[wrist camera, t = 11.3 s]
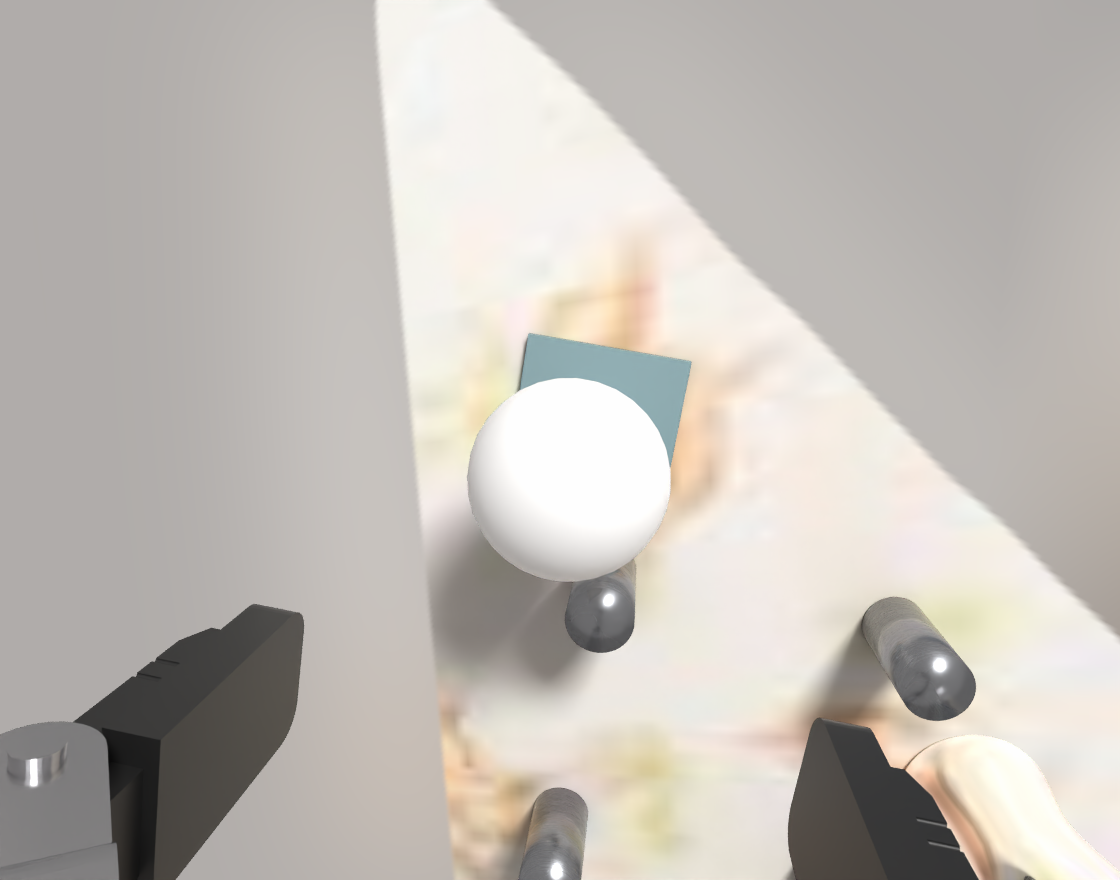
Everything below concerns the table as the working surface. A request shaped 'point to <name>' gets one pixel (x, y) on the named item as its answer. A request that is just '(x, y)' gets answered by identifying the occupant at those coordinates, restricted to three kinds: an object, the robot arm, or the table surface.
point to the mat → (615, 376)
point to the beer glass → (1004, 812)
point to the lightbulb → (568, 479)
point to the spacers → (607, 623)
